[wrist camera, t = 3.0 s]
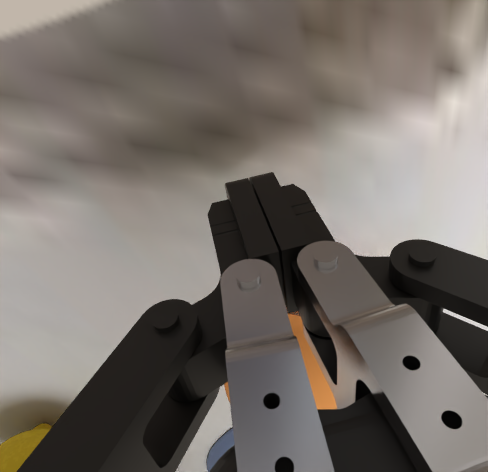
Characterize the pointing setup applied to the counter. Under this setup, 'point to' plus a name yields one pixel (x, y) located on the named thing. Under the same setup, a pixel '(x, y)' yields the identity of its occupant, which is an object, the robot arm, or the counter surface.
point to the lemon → (20, 447)
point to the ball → (309, 369)
